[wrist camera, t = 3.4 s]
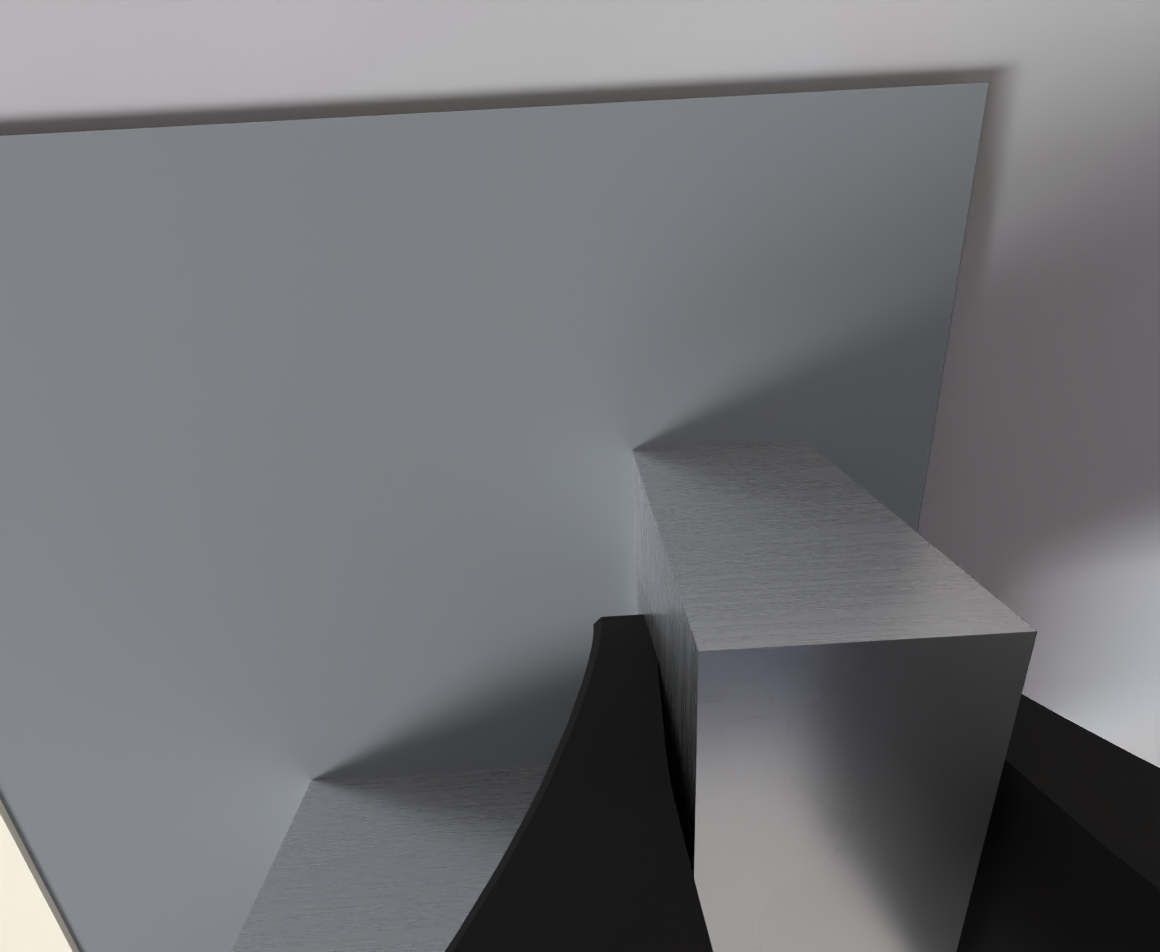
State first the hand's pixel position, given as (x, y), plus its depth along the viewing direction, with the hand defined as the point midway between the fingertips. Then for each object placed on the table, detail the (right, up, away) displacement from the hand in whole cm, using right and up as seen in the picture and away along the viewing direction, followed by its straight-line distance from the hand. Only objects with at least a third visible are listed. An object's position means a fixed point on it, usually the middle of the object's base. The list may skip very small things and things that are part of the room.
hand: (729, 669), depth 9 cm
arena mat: (-8, -4, +3) cm, 9 cm away
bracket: (-3, -1, +1) cm, 3 cm away
